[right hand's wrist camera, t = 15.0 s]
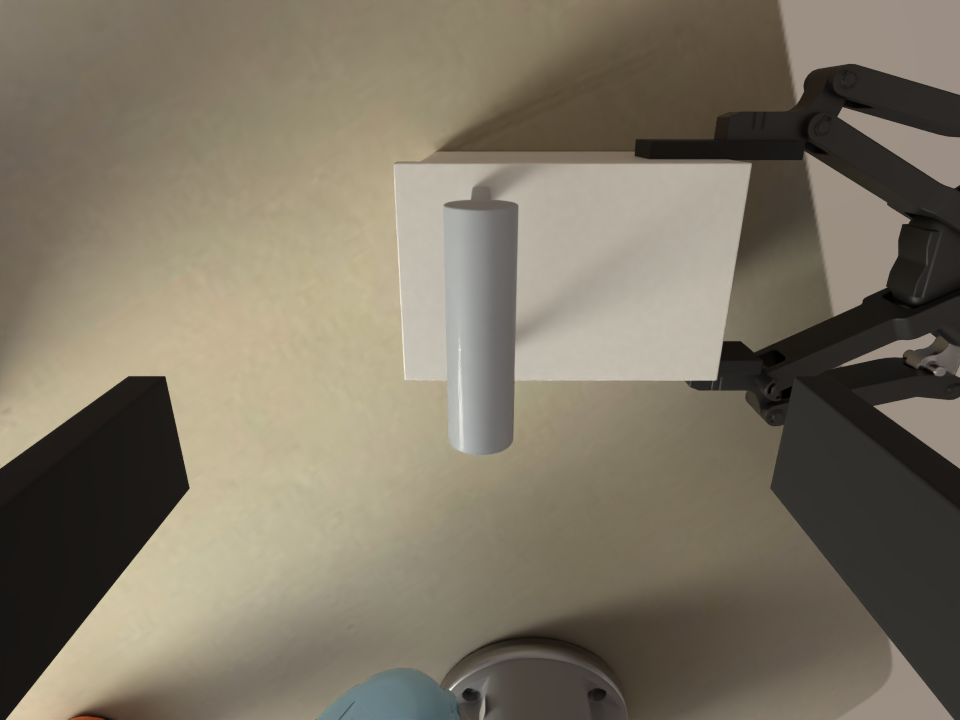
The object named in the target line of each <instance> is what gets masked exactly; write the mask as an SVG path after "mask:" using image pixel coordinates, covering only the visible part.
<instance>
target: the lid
mask: <svg viewBox="0 0 960 720" xmlns="http://www.w3.org/2000/svg"><path fill="white" fill-rule="evenodd" d="M393 167H394V186H395V205H396V225H397V244H398V263H399V282H400V301H401V320H402V339H403V358H404V377H405V380H447V398H448V440H449V442H450V444H451V445H452V447H454V448H455V449H456V450H458V451H460V452H463V453H467V454H472V455H490V454H495V453H498V452H501V451H503V450H505V449H507V448H508V447H509V446H510V445H511V443H512V441H513V422H514V380H717V376H718V369H719V363H720V357H721V351H722V345H723V339H724V333H725V327H726V320H727V314H728V308H729V302H730V296H731V290H732V284H733V278H734V272H735V265H736V259H737V253H738V247H739V241H740V235H741V229H742V223H743V216H744V210H745V204H746V198H747V192H748V186H749V180H750V174H751V167H752V163H749V162H396V163H394V164H393Z"/></svg>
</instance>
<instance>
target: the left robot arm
mask: <svg viewBox="0 0 960 720" xmlns="http://www.w3.org/2000/svg"><path fill="white" fill-rule="evenodd" d="M842 107H844V108H848V109H851V110H855V111H858V112H862V113H865V114H869V115H872V116H876V117H880V118H883V119H886V120H890V121H893V122H897V123H900V124H904V125H907V126H911V127H914V128H918V129H921V130H925V131H928V132H932V133H935V134H939V135H943V136H949V137H960V95H958V94H954V93H951V92H947V91H944V90H941V89H937V88H934V87H931V86H927V85H924V84H920V83H917V82H914V81H910V80H907V79H903V78H900V77H897V76H893V75H890V74H887V73H883V72H880V71H876V70H873V69H869V68H866V67H863V66H859V65H856V64H846V65H840V66H834V67H827V68H821V69H817V70H814V71H812V72H811V73H810V74H809V75H808V76H807V78H806V79H805V82H804V93H803V95H802V97H801V99H800V101H799V102H798V104H797V105H796V106H795V107H794V108H792V109H791V110H789V111H786V112H729V113H726V114H724V115H721V116H719V117H717V122H716V129H715V136H714V140H672V139H636V146H635V156H636V157H641V158H646V159H728V160H802V158H803V153H804V151H806V152H807V153H809V154H810V155H812V156H814V157H815V158H817V159H819V160H820V161H822V162H823V163H825V164H827V165H828V166H830V167H831V168H833V169H834V170H836V171H838V172H839V173H841V174H843V175H844V176H846V177H847V178H849V179H851V180H852V181H854V182H855V183H857V184H859V185H860V186H862V187H863V188H865V189H867V190H868V191H870V192H871V193H873V194H875V195H876V196H878V197H879V198H881V199H883V200H884V201H886V202H887V205H888V206H890V207H891V208H893V209H894V210H896V211H897V212H899V213H901V214H902V215H904V216H905V217H907V218H909V219H910V220H911V221H910V222H909V224H903V225H902V228H901V232H900V236H899V240H898V258H897V260H896V261H895V263H894V265H893V267H892V269H891V271H890V274H889V277H888V281H887V285H886V286H887V288H885V289H883V290H881V291H879V292H876V293H874V294H872V295H870V296H868V297H866V298H864V299H863V303H862V304H861V305H859V306H857V307H855V308H853V309H851V310H848V311H846V312H844V313H842V314H839V315H837V316H835V317H833V318H830V319H828V320H826V321H824V322H821V323H819V324H817V325H815V326H813V327H810V328H808V329H806V330H804V331H801V332H799V333H797V334H795V335H793V336H790V337H788V338H786V339H784V340H781V341H779V342H777V343H775V344H772V345H770V346H768V347H766V348H764V349H761V350H759V351H757V352H755V353H754V352H753V351H751V350H750V349H749V348H748V347H747V346H745V345H744V344H743V343H742V342H741V341H723V345H722V351H721V357H720V363H719V369H718V376H717V380H685V381H686V383H687V384H688V385H689V386H690V387H691V388H694V389H697V390H746V391H747V393H746V397H745V398H746V401H747V402H748V403H749V404H750V406H751V407H752V408H753V409H754V410H755V411H756V412H757V413H758V414H759V415H760V416H761V417H762V418H763V419H764V420H765V421H766V422H767V423H768V424H769V425H771V426H780V425H784V423H785V419H786V414H787V410H788V405H789V400H790V396H791V391H792V387H793V382H794V377H795V376H832V377H833V378H834V379H836V380H837V381H839V382H840V383H841V384H843V385H844V386H846V387H847V388H848V389H850V390H851V391H852V392H854V393H855V394H857V395H858V396H859V397H861V398H862V399H864V400H865V401H866V402H868V403H869V404H871V405H872V406H875V405H880V404H884V403H889V402H894V401H899V400H903V399H908V398H913V397H925V398H935V399H945V400H954V399H956V398H958V397H960V378H959V377H957V376H955V374H956V372H957V370H958V367H959V365H960V185H959V186H958V187H956V188H955V189H953V188H951V187H948V186H945V185H943V184H941V183H939V182H937V181H936V180H934V179H933V178H931V177H930V176H928V175H926V174H925V173H924V172H922V171H920V170H919V169H917V168H916V167H914V166H913V165H911V164H910V163H908V162H906V161H905V160H903V159H902V158H900V157H899V156H897V155H896V154H894V153H892V152H891V151H889V150H888V149H886V148H885V147H883V146H881V145H880V144H878V143H877V142H875V141H874V140H872V139H871V138H869V137H867V136H866V135H864V134H863V133H861V132H860V131H858V130H857V129H855V128H854V127H852V126H850V125H849V124H847V123H846V122H844V121H843V120H841V119H840V118H838V117H837V116H838V114H839V112H840V111H841V109H842ZM928 333H931V334H932V335H934V336H935V337H936V339H935V341H934V342H933V344H932V345H930V346H929V347H927V348H925V349H918V350H915V351H913V350H907V351H906V352H904V354H903V358H895V357H894V358H883V359H877V360H872V361H868V362H863V363H859V364H854V365H849V366H845V367H840V368H835V369H832V368H834V367H837V366H839V365H841V364H844V363H846V362H848V361H850V360H853V359H855V358H857V357H860V356H862V355H864V354H867V353H869V352H871V351H873V350H876V349H878V348H880V347H883V346H885V345H887V344H890V343H892V342H894V341H897V340H912V339H916V338H919V337H921V336H923V335H926V334H928ZM830 369H831V370H830ZM316 720H629V717H628V712H627V708H626V704H625V700H624V696H623V692H622V688H621V685H620V683H619V681H618V679H617V677H616V676H615V674H614V673H613V671H612V670H611V669H610V668H609V667H608V666H607V665H606V664H605V663H604V662H603V661H602V660H601V659H599V658H598V657H597V656H595V655H594V654H592V653H590V652H589V651H587V650H585V649H582V648H580V647H578V646H575V645H572V644H569V643H566V642H562V641H557V640H552V639H543V638H523V639H514V640H508V641H503V642H499V643H496V644H492V645H490V646H487V647H484V648H482V649H480V650H478V651H476V652H474V653H472V654H470V655H469V656H467V657H466V658H464V659H463V660H461V661H460V662H459V663H458V664H457V665H456V666H455V667H454V668H453V669H452V670H451V671H450V672H449V673H448V674H447V676H446V677H445V679H444V680H443V682H442V684H441V686H440V685H438V684H437V683H436V682H435V681H434V680H433V679H432V678H431V677H430V676H428V675H427V674H425V673H423V672H421V671H419V670H415V669H410V668H397V669H391V670H387V671H384V672H381V673H378V674H376V675H374V676H372V677H370V678H369V679H368V680H366V681H365V682H363V683H362V684H359V685H356V686H354V687H353V688H351V689H350V690H348V691H347V692H346V693H345V694H343V695H342V696H341V697H340V698H338V699H337V700H336V701H335V702H334V703H333V704H331V705H330V706H329V707H328V708H327V709H326V710H325V711H324V712H323V713H322V714H321V715H320V716H319V717H318V718H317V719H316Z"/></svg>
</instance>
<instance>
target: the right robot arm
mask: <svg viewBox="0 0 960 720" xmlns="http://www.w3.org/2000/svg"><path fill="white" fill-rule="evenodd" d="M188 490H189V483H188V479H187V474H186V470H185V465H184V460H183V456H182V451H181V447H180V442H179V437H178V433H177V428H176V423H175V419H174V414H173V410H172V405H171V400H170V396H169V391H168V387H167V382H166V377H165V376H128V377H127V378H126V379H124V380H123V381H121V382H120V383H119V384H117V385H116V386H114V387H113V388H112V389H110V390H109V391H108V392H106V393H105V394H103V395H102V396H101V397H99V398H98V399H96V400H95V401H94V402H92V403H91V404H89V405H88V406H87V407H85V408H84V409H83V410H81V411H80V412H78V413H77V414H76V415H74V416H73V417H71V418H70V419H69V420H67V421H66V422H65V423H63V424H62V425H60V426H59V427H58V428H56V429H55V430H53V431H52V432H51V433H49V434H48V435H46V436H45V437H44V438H42V439H41V440H40V441H38V442H37V443H35V444H34V445H33V446H31V447H30V448H28V449H27V450H26V451H24V452H23V453H22V454H20V455H19V456H17V457H16V458H15V459H13V460H12V461H10V462H9V463H8V464H6V465H5V466H3V467H2V468H1V469H0V720H6V719H7V717H8V716H9V715H10V714H11V712H12V711H13V710H14V708H15V707H16V706H17V705H18V703H19V702H20V701H21V700H22V698H23V697H24V696H25V695H26V693H27V692H28V691H29V690H30V688H31V687H32V686H33V685H34V683H35V682H36V681H37V680H38V678H39V677H40V676H41V675H42V673H43V672H44V671H45V670H46V668H47V667H48V666H49V664H50V663H51V662H52V661H53V659H54V658H55V657H56V656H57V654H58V653H59V652H60V651H61V649H62V648H63V647H64V646H65V644H66V643H67V642H68V641H69V639H70V638H71V637H72V636H73V634H74V633H75V632H76V631H77V629H78V628H79V627H80V625H81V624H82V623H83V622H84V620H85V619H86V618H87V617H88V615H89V614H90V613H91V612H92V610H93V609H94V608H95V607H96V605H97V604H98V603H99V602H100V600H101V599H102V598H103V597H104V595H105V594H106V593H107V592H108V590H109V589H110V588H111V586H112V585H113V584H114V583H115V581H116V580H117V579H118V578H119V576H120V575H121V574H122V573H123V571H124V570H125V569H126V568H127V566H128V565H129V564H130V563H131V561H132V560H133V559H134V558H135V556H136V555H137V554H138V553H139V551H140V550H141V549H142V547H143V546H144V545H145V544H146V542H147V541H148V540H149V539H150V537H151V536H152V535H153V534H154V532H155V531H156V530H157V529H158V527H159V526H160V525H161V524H162V522H163V521H164V520H165V519H166V517H167V516H168V515H169V514H170V512H171V511H172V510H173V509H174V507H175V506H176V505H177V503H178V502H179V501H180V500H181V498H182V497H183V496H184V495H185V493H186V492H187V491H188ZM771 490H772V491H773V492H774V493H775V495H776V496H777V497H778V498H779V500H780V501H781V502H782V503H783V505H784V506H785V507H786V509H787V510H788V511H789V512H790V514H791V515H792V516H793V517H794V519H795V520H796V521H797V522H798V524H799V525H800V526H801V527H802V529H803V530H804V531H805V532H806V534H807V535H808V536H809V537H810V539H811V540H812V541H813V542H814V544H815V545H816V546H817V547H818V549H819V550H820V551H821V553H822V554H823V555H824V556H825V558H826V559H827V560H828V561H829V563H830V564H831V565H832V566H833V568H834V569H835V570H836V571H837V573H838V574H839V575H840V576H841V578H842V579H843V580H844V581H845V583H846V584H847V585H848V586H849V588H850V589H851V590H852V592H853V593H854V594H855V595H856V597H857V598H858V599H859V600H860V602H861V603H862V604H863V605H864V607H865V608H866V609H867V610H868V612H869V613H870V614H871V615H872V617H873V618H874V619H875V620H876V622H877V623H878V624H879V625H880V627H881V628H882V629H883V631H884V632H885V633H886V634H887V636H888V637H889V638H890V639H891V641H892V642H893V643H894V644H895V646H896V647H897V648H898V649H899V651H900V652H901V653H902V654H903V656H904V657H905V658H906V659H907V661H908V662H909V663H910V664H911V666H912V667H913V668H914V670H915V671H916V672H917V673H918V675H919V676H920V677H921V678H922V680H923V681H924V682H925V683H926V685H927V686H928V687H929V688H930V690H931V691H932V692H933V693H934V695H935V696H936V697H937V698H938V700H939V701H940V702H941V703H942V705H943V706H944V707H945V708H946V710H947V711H948V712H949V714H950V715H951V716H952V717H953V719H954V720H960V469H959V468H958V467H957V466H955V465H954V464H952V463H951V462H950V461H948V460H947V459H945V458H944V457H942V456H941V455H940V454H938V453H937V452H936V451H934V450H933V449H931V448H930V447H929V446H927V445H926V444H925V443H923V442H922V441H920V440H919V439H918V438H916V437H915V436H914V435H912V434H911V433H909V432H908V431H907V430H905V429H904V428H902V427H901V426H900V425H898V424H897V423H895V422H894V421H893V420H891V419H890V418H888V417H887V416H886V415H884V414H883V413H882V412H880V411H879V410H877V409H876V408H875V407H873V406H872V405H871V404H869V403H868V402H866V401H865V400H864V399H862V398H861V397H859V396H858V395H857V394H855V393H854V392H852V391H851V390H850V389H848V388H847V387H846V386H844V385H843V384H841V383H840V382H839V381H837V380H836V379H834V378H833V377H832V376H795V377H794V382H793V387H792V391H791V396H790V400H789V405H788V410H787V414H786V419H785V423H784V428H783V433H782V437H781V442H780V447H779V451H778V456H777V460H776V465H775V470H774V474H773V479H772V483H771Z"/></svg>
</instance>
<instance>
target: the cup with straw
mask: <svg viewBox="0 0 960 720" xmlns="http://www.w3.org/2000/svg"><path fill="white" fill-rule="evenodd" d="M69 720H105V719H102V718H97V717H89V716H83V717H76V718H72V719H69Z"/></svg>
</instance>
